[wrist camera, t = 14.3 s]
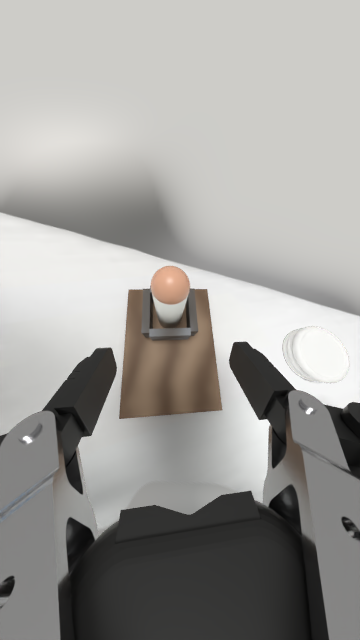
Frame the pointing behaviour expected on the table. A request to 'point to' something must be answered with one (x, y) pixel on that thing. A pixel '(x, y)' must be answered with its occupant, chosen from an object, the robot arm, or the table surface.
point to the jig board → (168, 359)
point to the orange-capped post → (170, 295)
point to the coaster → (316, 355)
